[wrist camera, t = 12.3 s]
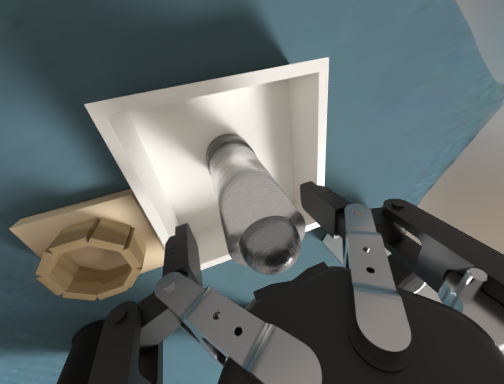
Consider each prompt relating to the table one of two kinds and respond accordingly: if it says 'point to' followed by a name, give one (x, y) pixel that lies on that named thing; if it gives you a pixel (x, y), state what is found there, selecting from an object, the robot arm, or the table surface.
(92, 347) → the aerosol can
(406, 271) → the medicine bottle
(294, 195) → the bin
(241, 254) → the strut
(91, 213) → the socket base
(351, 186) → the table surface
